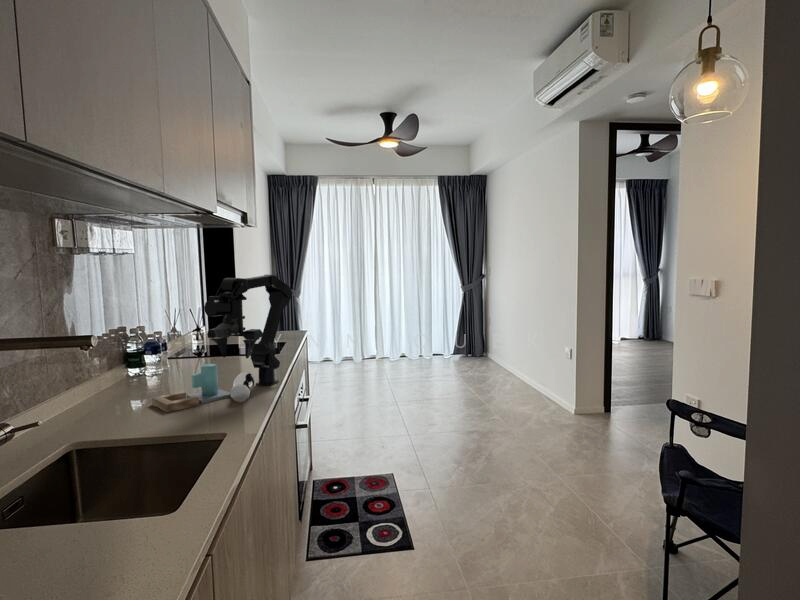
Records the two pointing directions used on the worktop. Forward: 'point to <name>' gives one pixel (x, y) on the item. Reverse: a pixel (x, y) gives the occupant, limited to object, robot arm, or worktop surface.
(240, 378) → the beer glass
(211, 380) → the teal gourd with tab
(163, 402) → the bracket
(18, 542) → the worktop surface
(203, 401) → the coaster
